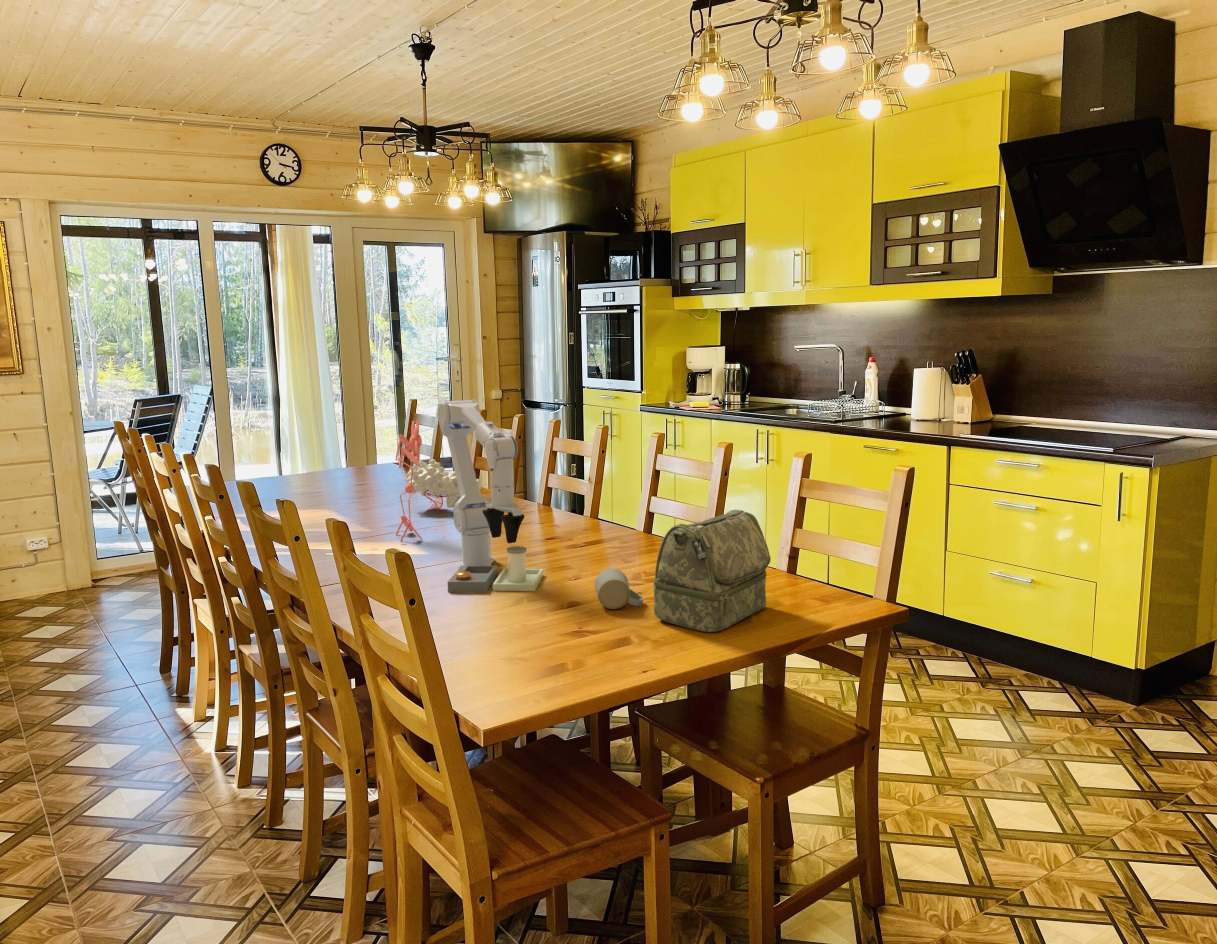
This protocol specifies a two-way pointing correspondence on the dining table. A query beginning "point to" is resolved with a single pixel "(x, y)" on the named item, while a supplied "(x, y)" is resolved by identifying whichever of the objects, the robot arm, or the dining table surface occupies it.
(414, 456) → the figurine
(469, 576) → the orange round piece
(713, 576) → the lunch bag
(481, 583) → the housing
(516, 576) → the cylinder
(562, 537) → the dining table surface
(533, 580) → the tray
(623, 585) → the ceramic mug
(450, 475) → the lumpy white molecule
